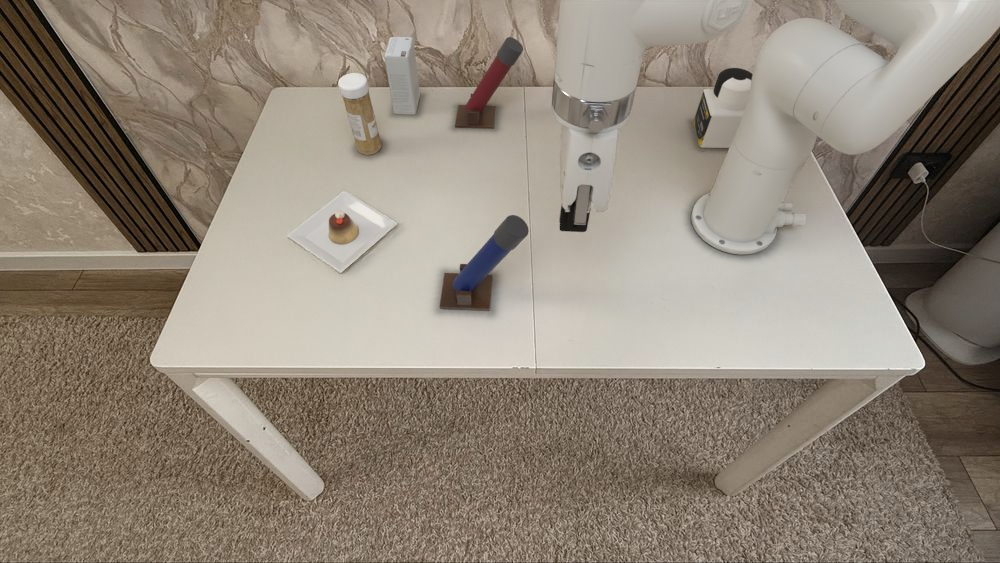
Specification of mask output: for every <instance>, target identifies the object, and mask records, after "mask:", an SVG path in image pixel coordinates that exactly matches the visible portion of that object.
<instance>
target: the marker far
mask: <svg viewBox="0 0 1000 563" xmlns="http://www.w3.org/2000/svg"><path fill="white" fill-rule="evenodd" d="M523 52H524V46H523V45H522V43H521V42H520V41H519V40H518V39H517V38H514V37H511V36H508V37H506V38H505V40H504V41H503V42H502V45H501V46H500V48H499V49H498V51H497V53H496V56H495V58H494V59H493V60H492V62H491V64H490V66H489V67H488V69H487V71H486V72H485V74H484V75H483V77H482V79H481V80H480V81H479V83H478V85H477V87H476V88H475V89H474V91H473V93H471V94H472V96H471V95H470V96H471V97H470V98H469V99H468V101H467V102H466V104H465V105H466V106H465V108H466V110H467V112H468V110H480V114H481V112H482V111H483V109H484V108H485V106H488V103H489V101H490V100H491V99H492V98H493V96H494V94H495V93H496V91H497V89H498V88H499V86H500V85H501V84H502V82H503V81H504V79H505V77H506V76H507V74H508V72H510V70H511V69H512V67H513V66H514V65H515V64H516V62H517V61H518V59H519V58H520V56H521V55H522V53H523Z"/></svg>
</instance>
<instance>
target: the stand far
mask: <svg viewBox="0 0 1000 563" xmlns="http://www.w3.org/2000/svg"><path fill="white" fill-rule="evenodd" d="M472 94H473V93H470V98H471V96H472ZM465 106H466V104H458V106H457V111H456V116H455V123H454V128H458V129H492V130H493V129H495V120H496V109H497V105H486V106H485V108H484V109H483V111H482V112H481V114H480V110H468V112H467V110H466V108H465Z"/></svg>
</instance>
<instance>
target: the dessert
mask: <svg viewBox="0 0 1000 563" xmlns="http://www.w3.org/2000/svg"><path fill="white" fill-rule="evenodd" d="M397 225H398V222H397V221H396V220H394V219H392V218H390V217H388V216H387V215H385V213H382V212H380V211H379V210H377V209H376V208H374V207H373V206H371V205H370V204H368V203H366V202H365V201H363V200H361V199H359V198H358V197H356V196H354V195H353V194H351V193H350V192H348V191H346V190H342V191H341V192H340V193H338V194H337V195H336V196H334V197H333V198H332V199H331V200H329V201H328V202H326V203H325V204H324V205H323V206H321V208H319V209H318V210H316V211H315V212H314V213H313V214H311V215H310V216H308V218H306V219H305V220H304V221H302V222H301V223H300V224H299V225H298V226H296V227H295V228H293V229H292V230H290V232H288V233H286V237H288V238H289V239H290V240H292V241H294V242H295V243H296V244H298V245H299V246H301V247H302V248H303V249H305V250H306V251H308V252H309V253H311V254H312V255H314V256H315V257H317V258H318V259H319V260H321V261H322V262H323V263H325V264H327V265H328V266H329V267H331V268H332V269H334V270H335V271H337V273H341V274H342V273H343V272H344V271H345V270H346V269H348V268H349V267H350V266H351V265H352V264H353V263H354V262H356V261H357V259H359V258H360V257H361V256H363V254H365V253H366V252H367V251H368V250H369V249H370V248H372V247H373V246H374V245H375V244H376V243H378V241H379V240H381V239H382V238H383V237H384V236H386V235H387V234H388V233H389V232H390V231H391V230H392V229H393V228H394V227H396V226H397Z"/></svg>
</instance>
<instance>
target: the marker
mask: <svg viewBox="0 0 1000 563" xmlns="http://www.w3.org/2000/svg"><path fill="white" fill-rule="evenodd" d="M529 232H530V231H529V226H528V224H527V223H526V221H525V220H524V219H523V218H522V217H520V216H518V215H515V214H510V215H508V216H506V218H504V220H503V221H502V222H501V223H500V224H499V225H498V226H497V228H496V229H495V230H494V232H493V234H492V235H491V237H489V238H488V240H487V241H486V242H485V244H484V245H482V247H481V248H480V249H479V250H478V251H477V252H476V254H474V256H473V257H472V258H471V259H470V260H469V262H467V263H466V264H467V265H466V266H465V267H464V268H463V270H462V271H461V272H460V271H459V272H458V273H459V274H458V275H457V276H456V278H455V279H454V280H453V286H454V288H455V290H456V291H457V290H458V291H471V292H472V291H473V290H474V289H475V288H476V287H477V286H478V285H479V283H480V282H481V281H482V280H483V279H484V278H485V277H486V276H487V275H490V273H491V272H492V271H493V270H495V268H496V267H497V266H498V265H499V264H500V263H501V262H502V261H503V259H504V258H506V257H507V255H509V253H511V252H512V251H513V250H515V249H516V248H517V247H518V245H520V244H521V243H522V242H523V240H524V239H526V238H527V236H528V235H529Z"/></svg>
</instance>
